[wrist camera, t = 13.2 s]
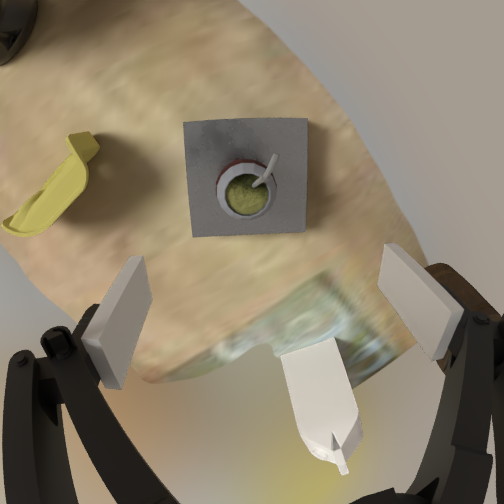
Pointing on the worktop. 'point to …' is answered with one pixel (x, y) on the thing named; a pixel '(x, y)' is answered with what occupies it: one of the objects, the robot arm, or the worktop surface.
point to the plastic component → (55, 190)
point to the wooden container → (460, 296)
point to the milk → (323, 402)
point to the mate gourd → (247, 188)
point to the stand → (247, 147)
